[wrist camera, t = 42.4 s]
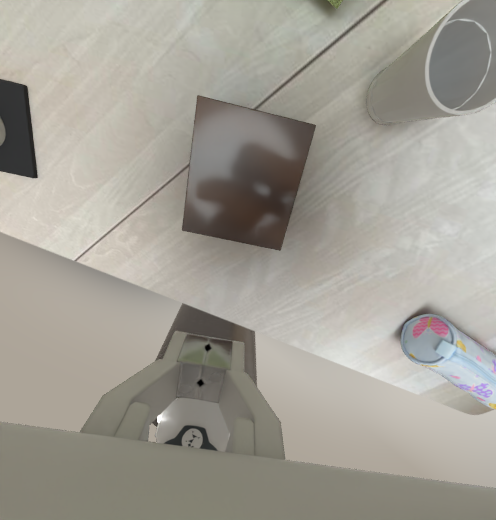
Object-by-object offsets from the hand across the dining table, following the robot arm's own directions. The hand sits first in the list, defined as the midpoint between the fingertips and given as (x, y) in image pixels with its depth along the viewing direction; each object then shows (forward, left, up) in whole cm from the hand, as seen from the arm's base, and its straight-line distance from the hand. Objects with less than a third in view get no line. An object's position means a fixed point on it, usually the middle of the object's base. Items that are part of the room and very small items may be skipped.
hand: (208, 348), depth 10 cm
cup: (+19, -16, -27) cm, 37 cm away
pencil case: (-15, -42, -27) cm, 52 cm away
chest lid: (+6, 0, -21) cm, 22 cm away
